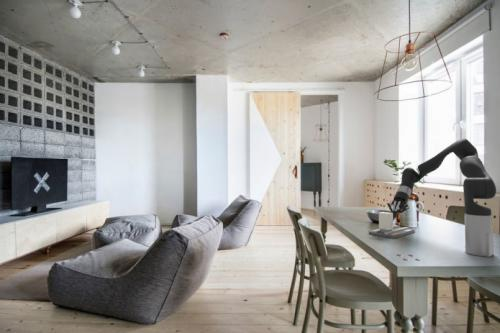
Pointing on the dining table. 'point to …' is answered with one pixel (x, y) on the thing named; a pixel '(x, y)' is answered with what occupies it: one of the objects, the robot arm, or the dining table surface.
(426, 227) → the dining table surface
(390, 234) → the grey tray
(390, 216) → the white upright block
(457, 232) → the dining table surface
